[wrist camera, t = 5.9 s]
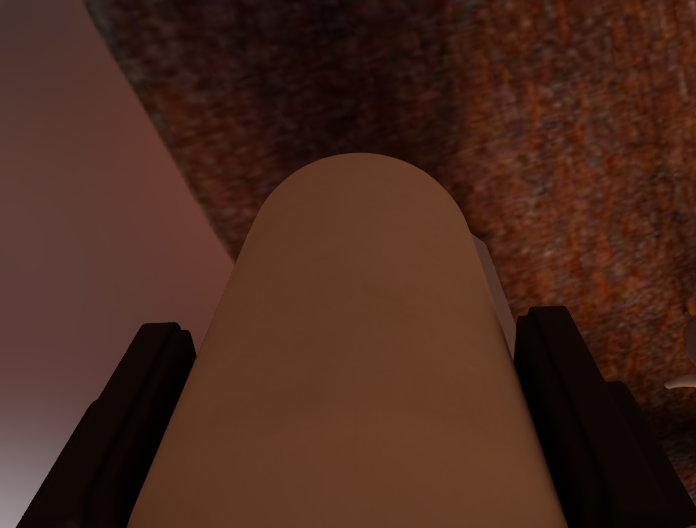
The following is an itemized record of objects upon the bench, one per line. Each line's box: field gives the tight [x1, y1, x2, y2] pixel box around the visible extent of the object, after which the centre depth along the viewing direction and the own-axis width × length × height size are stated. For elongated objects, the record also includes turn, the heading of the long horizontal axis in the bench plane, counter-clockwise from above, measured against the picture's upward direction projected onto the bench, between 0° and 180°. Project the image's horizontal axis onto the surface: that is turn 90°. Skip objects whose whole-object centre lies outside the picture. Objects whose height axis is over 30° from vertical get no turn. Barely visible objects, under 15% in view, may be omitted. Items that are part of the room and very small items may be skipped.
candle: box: [127, 153, 569, 528], centre depth 10 cm, size 6×6×10 cm
